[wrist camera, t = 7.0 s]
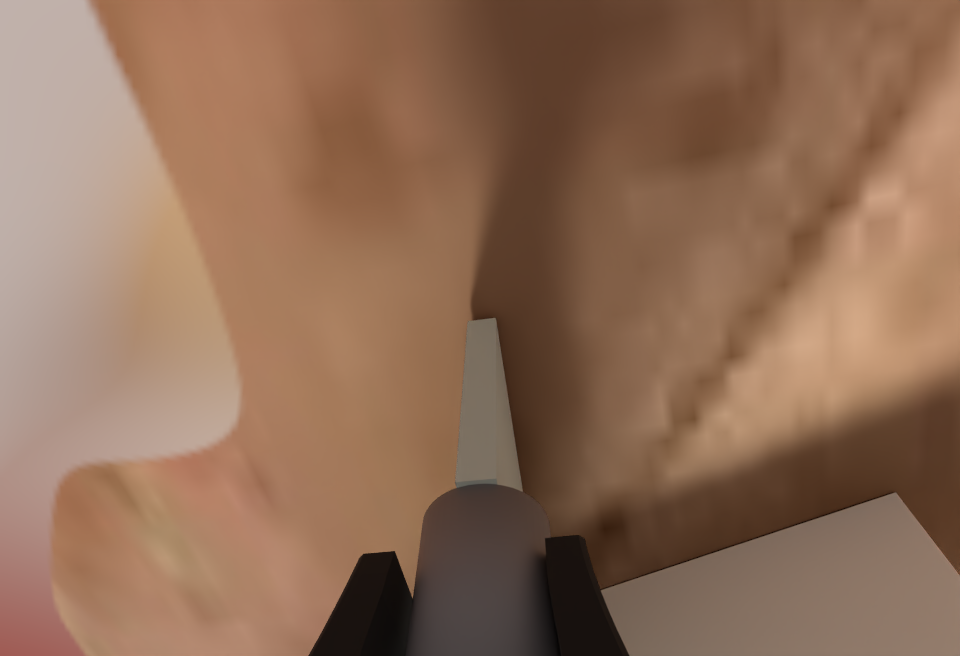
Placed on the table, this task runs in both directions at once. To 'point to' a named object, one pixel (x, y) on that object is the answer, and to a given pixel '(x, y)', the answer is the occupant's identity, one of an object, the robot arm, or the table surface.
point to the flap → (483, 534)
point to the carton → (802, 593)
